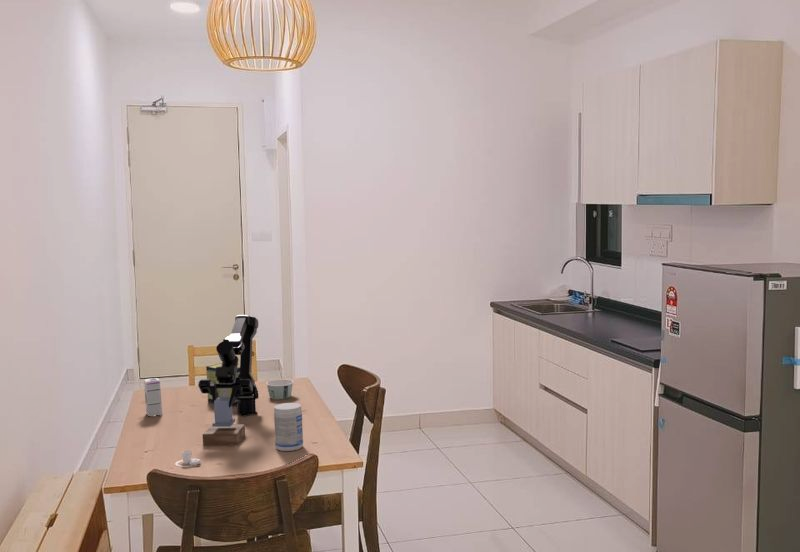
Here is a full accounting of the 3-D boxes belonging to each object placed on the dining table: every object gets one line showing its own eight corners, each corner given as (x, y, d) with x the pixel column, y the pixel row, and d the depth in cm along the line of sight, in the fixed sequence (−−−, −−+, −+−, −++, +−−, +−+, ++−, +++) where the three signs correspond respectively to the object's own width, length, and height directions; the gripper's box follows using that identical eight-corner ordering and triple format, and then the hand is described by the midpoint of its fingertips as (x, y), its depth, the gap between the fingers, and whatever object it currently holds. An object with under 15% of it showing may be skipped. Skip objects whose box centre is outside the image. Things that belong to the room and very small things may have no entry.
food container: (299, 396, 331) (299, 381, 330) (278, 402, 322) (277, 387, 321) (282, 392, 339) (281, 377, 338) (260, 397, 330) (260, 383, 329)
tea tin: (217, 421, 274) (216, 397, 273) (235, 421, 273) (234, 396, 272) (212, 426, 267) (211, 401, 266) (230, 426, 267) (229, 401, 266)
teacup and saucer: (204, 465, 246) (203, 453, 245) (180, 470, 241) (179, 458, 241) (195, 458, 253) (195, 446, 252) (172, 463, 249) (171, 451, 248)
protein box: (225, 396, 333) (224, 361, 332) (250, 401, 324) (248, 365, 323) (207, 401, 325) (205, 366, 323) (231, 406, 316) (230, 370, 314)
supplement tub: (304, 450, 257) (303, 408, 256) (276, 453, 255) (274, 410, 253) (301, 442, 266) (300, 401, 265) (274, 444, 264) (272, 403, 263)
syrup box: (162, 415, 305) (160, 380, 303) (147, 417, 302) (145, 381, 301) (160, 411, 310) (158, 377, 309) (145, 413, 307) (143, 378, 306)
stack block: (212, 435, 277) (212, 424, 276) (245, 434, 276) (244, 424, 276) (203, 445, 265) (202, 434, 265) (236, 445, 264) (236, 434, 264)
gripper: (198, 357, 272) (190, 395, 262) (249, 357, 271) (243, 395, 262) (205, 374, 281) (198, 411, 271) (255, 373, 280) (249, 410, 270)
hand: (222, 406), depth 268 cm, fingers closed on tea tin, 5 cm apart
